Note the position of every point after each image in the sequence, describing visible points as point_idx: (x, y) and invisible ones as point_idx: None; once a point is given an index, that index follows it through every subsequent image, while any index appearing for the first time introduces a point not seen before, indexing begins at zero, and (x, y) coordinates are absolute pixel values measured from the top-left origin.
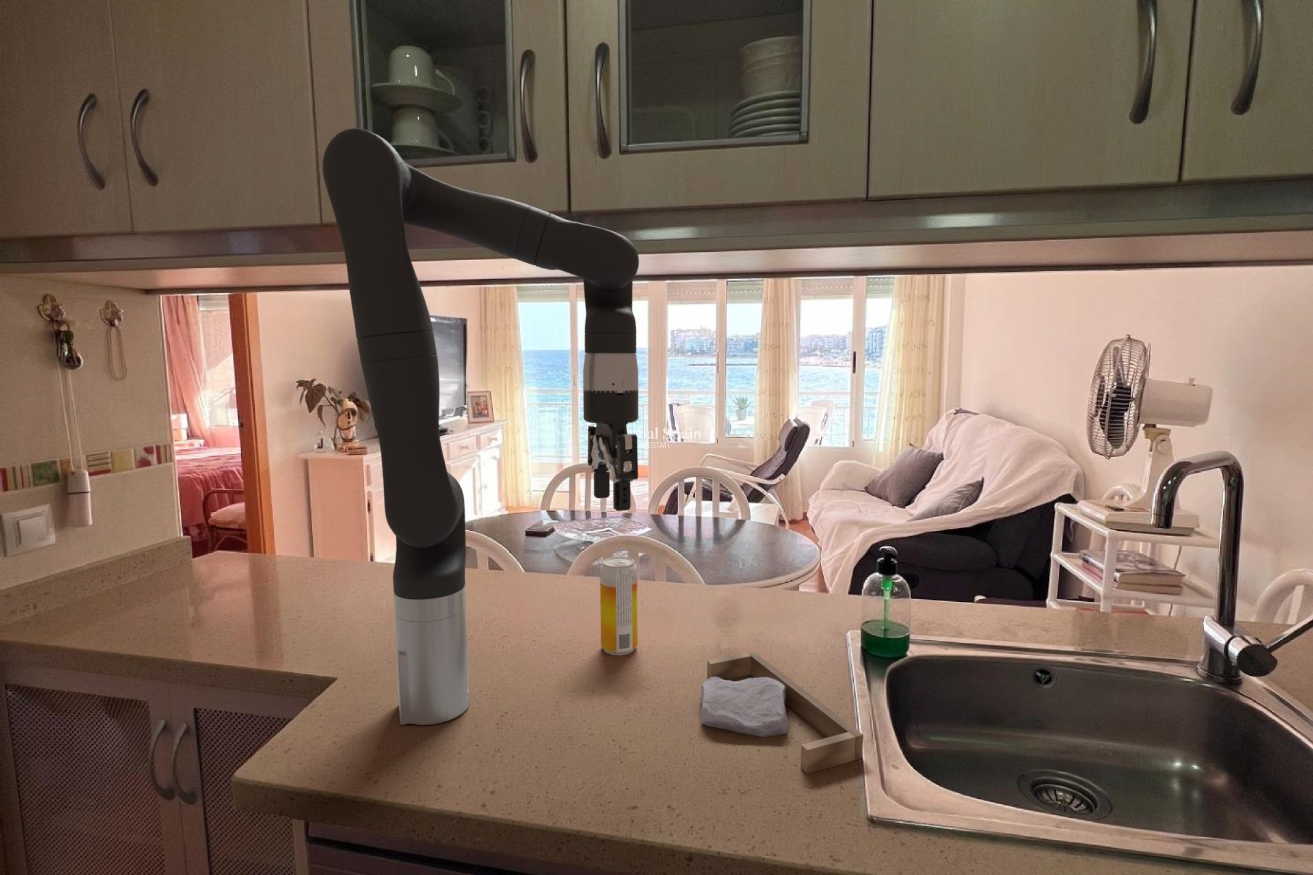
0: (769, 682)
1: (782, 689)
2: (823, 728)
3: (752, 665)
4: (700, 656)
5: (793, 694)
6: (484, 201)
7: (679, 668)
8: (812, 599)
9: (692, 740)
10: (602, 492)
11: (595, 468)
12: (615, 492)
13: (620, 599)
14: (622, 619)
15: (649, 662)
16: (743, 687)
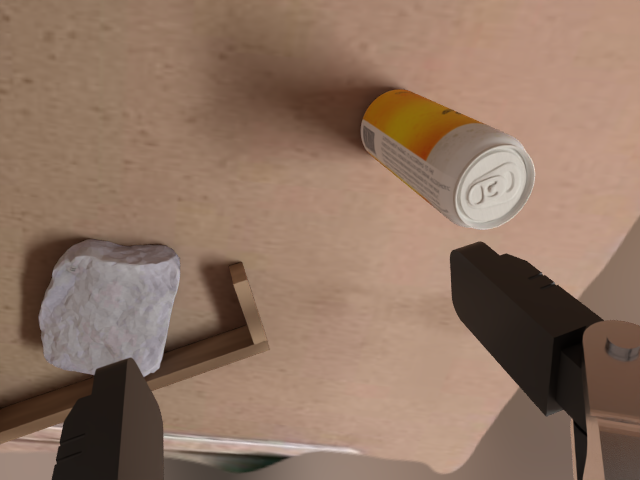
0: None
1: None
2: (55, 396)
3: (247, 336)
4: (326, 260)
5: None
6: None
7: (290, 223)
8: (470, 425)
9: (32, 218)
10: (468, 296)
11: (582, 366)
12: (82, 458)
13: (408, 161)
14: (387, 150)
15: (323, 175)
16: (132, 324)
